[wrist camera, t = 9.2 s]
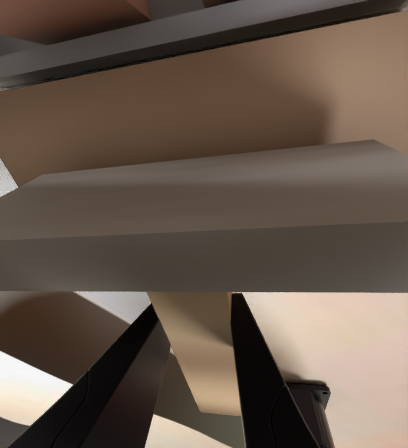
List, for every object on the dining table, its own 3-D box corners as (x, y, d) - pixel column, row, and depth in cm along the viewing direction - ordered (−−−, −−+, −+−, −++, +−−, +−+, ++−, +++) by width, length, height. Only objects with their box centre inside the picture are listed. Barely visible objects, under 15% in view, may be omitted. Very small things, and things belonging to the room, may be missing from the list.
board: (350, 247, 13) (378, 286, 10) (105, 255, 16) (80, 288, 13) (406, 25, 8) (489, -6, 5) (29, 96, 11) (-36, 99, 8)
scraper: (310, 362, 14) (334, 452, 10) (147, 352, 16) (124, 426, 12) (373, 139, 6) (530, 215, 3) (42, 174, 8) (-87, 244, 5)
